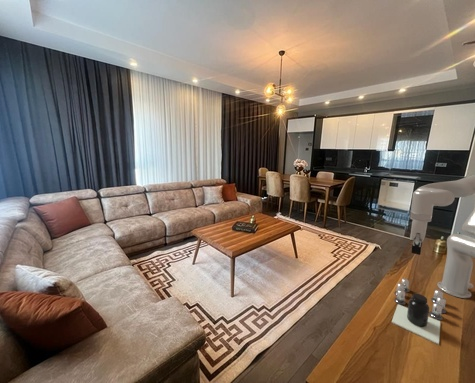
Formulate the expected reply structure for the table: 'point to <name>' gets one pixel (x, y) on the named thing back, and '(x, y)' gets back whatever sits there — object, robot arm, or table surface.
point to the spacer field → (437, 301)
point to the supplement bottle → (418, 310)
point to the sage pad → (427, 332)
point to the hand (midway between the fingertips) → (416, 249)
